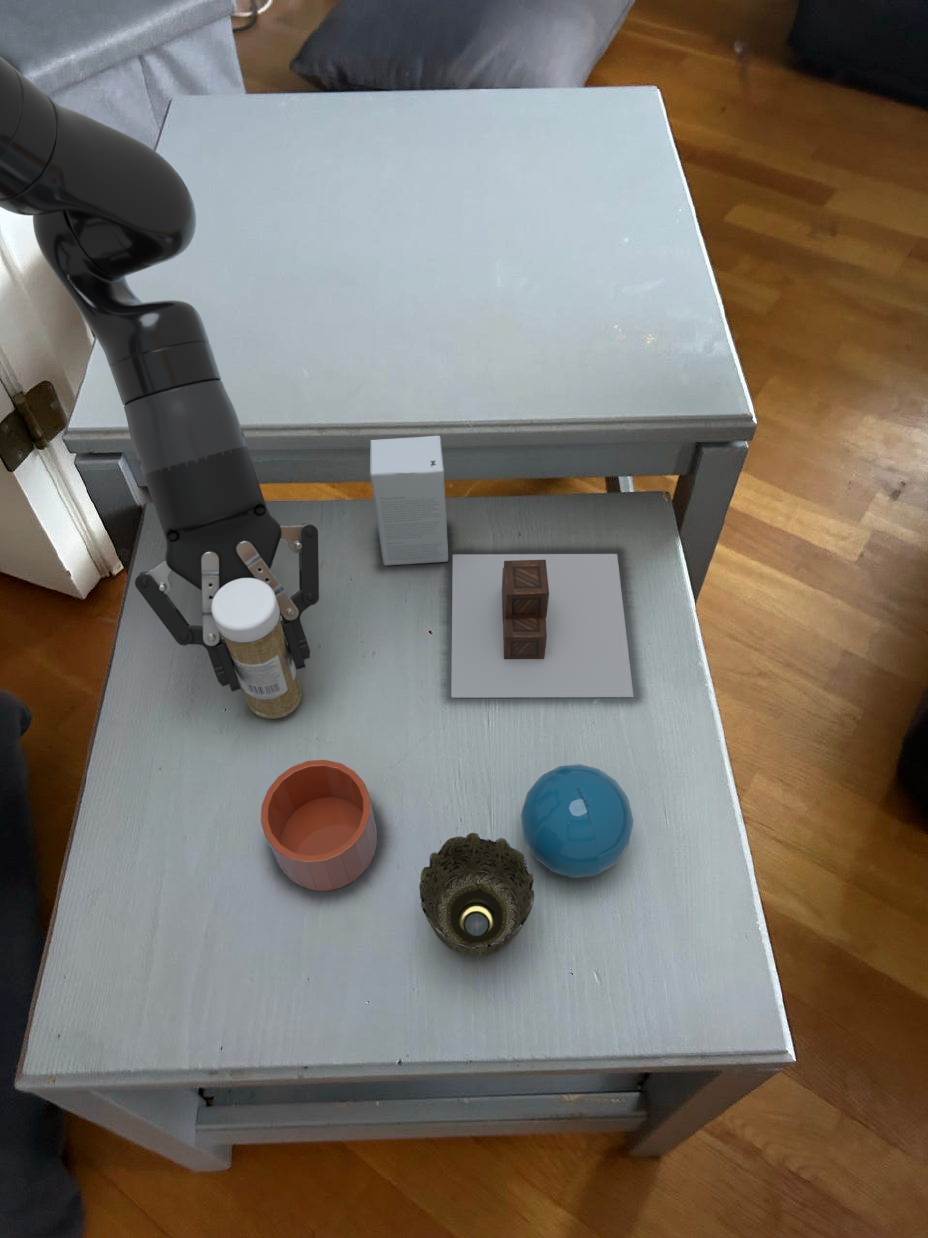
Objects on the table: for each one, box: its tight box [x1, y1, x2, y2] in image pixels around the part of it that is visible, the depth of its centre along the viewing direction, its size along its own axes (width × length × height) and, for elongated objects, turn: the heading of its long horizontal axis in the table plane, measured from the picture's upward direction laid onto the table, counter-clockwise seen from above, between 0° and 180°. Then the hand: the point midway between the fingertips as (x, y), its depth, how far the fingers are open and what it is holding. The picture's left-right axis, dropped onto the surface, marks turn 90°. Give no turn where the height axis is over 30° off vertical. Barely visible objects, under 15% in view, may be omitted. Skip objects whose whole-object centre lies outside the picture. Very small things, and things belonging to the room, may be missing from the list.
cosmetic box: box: [369, 435, 449, 566], centre depth 82 cm, size 6×4×12 cm
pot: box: [260, 759, 378, 892], centre depth 68 cm, size 8×8×6 cm
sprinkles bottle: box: [211, 578, 303, 720], centre depth 72 cm, size 5×5×13 cm
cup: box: [418, 832, 535, 958], centre depth 64 cm, size 8×7×8 cm
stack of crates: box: [450, 553, 634, 699], centre depth 79 cm, size 15×15×7 cm
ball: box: [520, 763, 634, 879], centre depth 67 cm, size 8×8×8 cm
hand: (268, 676), depth 71 cm, fingers closed on sprinkles bottle, 4 cm apart
